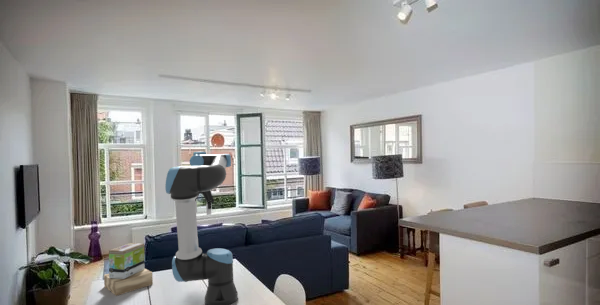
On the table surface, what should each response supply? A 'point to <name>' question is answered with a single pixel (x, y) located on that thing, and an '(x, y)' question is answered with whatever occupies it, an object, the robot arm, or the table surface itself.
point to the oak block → (128, 282)
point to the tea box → (126, 260)
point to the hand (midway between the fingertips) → (201, 213)
